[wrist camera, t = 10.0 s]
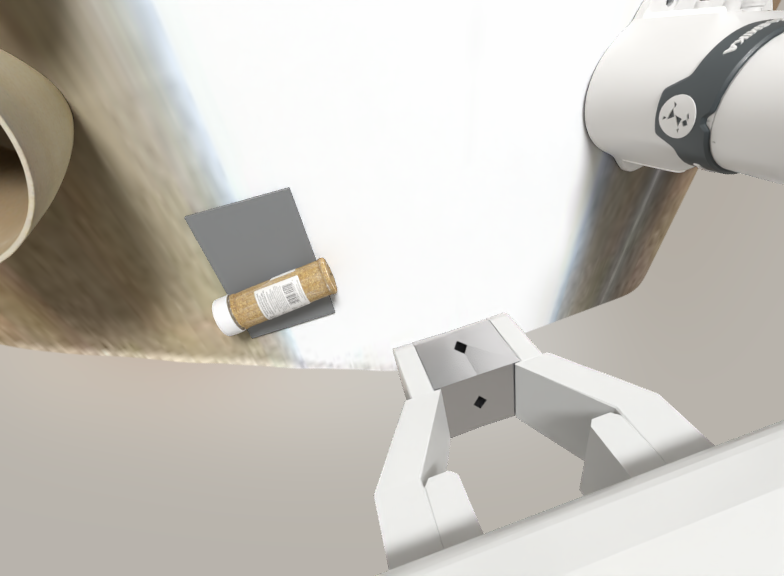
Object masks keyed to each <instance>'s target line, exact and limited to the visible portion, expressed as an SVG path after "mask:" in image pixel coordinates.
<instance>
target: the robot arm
mask: <svg viewBox="0 0 784 576" xmlns="http://www.w3.org/2000/svg"><path fill="white" fill-rule="evenodd" d="M666 1H667V0H644V1H643V3H642V4H641V6H640V8H639V10H638V12H637V13H636V15H635V17H634V19H633V20H632V22H631V23H630V24H629V25H628V26H627V28H626V29H625V30H624V31H623V32H622V33H621V34H620V35H619V36H618V37H617V38H616V39H615V40H614V41H613V42H612V44H611V45H610V46H609V48H608V49H607V50H606V52H605V53H604V55H603V56H602V58H601V60H600V61H599V63H598V65H597V67H596V69H595V71H594V74H593V76H592V78H591V81H590V84H589V88H588V91H587V96H586V102H585V122H586V127H587V131H588V134H589V136H590V138H591V140H592V141H593V143H594V144H595V145H596V146H597V147H598V148H599V149H601V150H602V151H604V152H606V153H608V154H610V155H612V156H613V157H614V158H615V160H616V162H617V164H618V165H619V167H620V168H621V169H622V170H625V171H634V170H637V169H639V168H641V167H643V166H648V167H653V168H657V169H662V170H666V171H671V172H676V173H681V172H684V171H685V170H687V169H690V168H693V167H697V168H700V169H702V170H705V171H709V172H714V173H715V172H717V173H723V174H737V173H741V174H745V175H749V176H752V177H756V178H760V179H764V180H767V181H771V182H775V183H779V184H782V185H784V11H783V10H781V11H773V3H772V0H668V2H667V4H666ZM393 354H394V357H395V361H396V365H397V369H398V372H399V376H400V380H401V383H402V386H403V390H404V393H405V396H406V401H405V402H404V405H403V408H402V411H401V414H400V418H399V420H398V424H397V427H396V430H395V433H394V436H393V439H392V442H391V445H390V448H389V451H388V454H387V457H386V460H385V463H384V466H383V470H382V472H381V475H380V479H379V482H378V485H377V488H376V491H375V494H374V498H375V503H376V508H377V513H378V518H379V523H380V527H381V533H382V537H383V543H384V547H385V553H386V558H387V563H388V568H389V570H388V571H386V572H383V573H380V574H378V575H375V576H784V420H782V421H780V422H777V423H774V424H772V425H769V426H767V427H764V428H761V429H759V430H756V431H753V432H751V433H748V434H746V435H743V436H740V437H738V438H735V439H732V440H730V441H727V442H725V443H722V444H719V445H717V446H715V445H714V444H712V443H711V442H710V441H709V440H708V439H707V438H706V437H705V436H704V435H703V434H702V433H700V432H699V431H698V430H697V429H696V428H695V427H694V426H693V425H692V424H691V423H689V422H688V421H687V420H686V419H685V418H684V417H683V416H682V415H681V414H680V413H679V412H678V411H676V410H675V409H674V408H673V407H672V406H671V405H670V404H669V403H668V402H667V401H666V400H664V399H663V398H662V397H661V396H660V395H659V394H658V393H655V392H652V391H650V390H647V389H644V388H642V387H639V386H636V385H634V384H631V383H629V382H626V381H623V380H620V379H618V378H615V377H613V376H610V375H607V374H605V373H602V372H599V371H597V370H594V369H592V368H589V367H586V366H583V365H581V364H578V363H576V362H573V361H570V360H568V359H565V358H562V357H560V356H557V355H554V354H552V353H549V352H548V353H544V354H542V353H541V351H540V350H539V349H538V348H537V347H536V346H535V344H533V342H532V341H531V340H530V339H529V338H528V336H527V335H526V334H525V333H524V332H523V331H522V329H521V328H520V327H519V326H518V325H517V324H516V323H515V321H514V320H513V319H512V318H511V317H510V316H509V314H507V313H505V312H504V313H501V314H498V315H495V316H492V317H489V318H487V319H486V320H485V319H484V320H481V321H478V322H475V323H472V324H469V325H466V326H463V327H460V328H457V329H454V330H451V331H449V332H446V333H442V334H439V335H436V336H432V337H429V338H426V339H422V340H419V341H415V342H412V343H411V344H407V345H404V346H400V347H397V348H393ZM515 415H516V418H518V419H519V420H521V421H522V422H524V423H526V424H527V425H529V426H530V427H532V428H533V429H535V430H537V431H538V432H540V433H541V434H543V435H544V436H546V437H548V438H549V439H551V440H552V441H554V442H555V443H557V444H558V445H560V446H562V447H563V448H565V449H566V450H568V451H570V452H571V453H572V454H574V455H576V456H577V457H579V458H581V459H582V460H584V466H583V472H582V478H581V483H580V491H581V493H582V494H583V497H580V498H577V499H575V500H572V501H570V502H567V503H564V504H562V505H559V506H556V507H554V508H551V509H549V510H546V511H543V512H541V513H538V514H535V515H533V516H530V517H527V518H525V519H522V520H520V521H517V522H514V523H512V524H509V525H506V526H504V527H501V528H498V529H496V530H493V531H491V532H488V533H485V534H483V532H482V529H481V527H480V525H479V522H478V520H477V518H476V515H475V513H474V510H473V508H472V506H471V503H470V501H469V499H468V496H467V494H466V492H465V489H464V487H463V485H462V482H461V480H460V477H459V475H458V474H456V473H453V472H451V471H446V469H447V463H448V457H449V449H450V443H451V439H450V438H453V437H455V436H458V435H461V434H463V433H466V432H468V431H471V430H473V429H476V428H479V427H481V426H484V425H487V424H491V423H494V422H497V421H500V420H503V419H506V418H509V417H512V416H515Z"/></svg>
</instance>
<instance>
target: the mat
mask: <svg viewBox="0 0 784 576" xmlns="http://www.w3.org/2000/svg"><path fill="white" fill-rule="evenodd" d="M185 220H186V222H187V224H188V225H189V227H190V229H191V231H192V232H193V234H194V236H195V238H196V240H197V241H198V243H199V245H200V247H201V248H202V250H203V252H204V254H205V256H206V257H207V259H208V261H209V263H210V264H211V266H212V268H213V270H214V272H215V273H216V275H217V277H218V279H219V280H220V282H221V284H222V286H223V288H224V289H225V291H226V293H227V295H228V294H229V295H231V294H235V293H238V292H240V291H242V290H245V289H247V288H250V287H252V286H255V285H257V284H260V283H262V282H265V281H267V280H270V279H271V278H273V277H275V276H278V275H280V274H283V273H285V272H288V271H290V270H293V269H296V268H300V267H302V266H304V265H307V264H309V263H312V262H314V261H316V258H315V256H314V253H313V250H312V248H311V245H310V242H309V239H308V237H307V234H306V231H305V229H304V226H303V223H302V220H301V218H300V215H299V212H298V210H297V207H296V204H295V201H294V199H293V196H292V193H291V191H290V188H289V187H288V188H285V189H281V190H278V191H274V192H270V193H267V194H263V195H260V196H256V197H253V198H249V199H245V200H242V201H238V202H235V203H231V204H227V205H224V206H220V207H217V208H213V209H210V210H206V211H202V212H199V213H195V214H192V215H188V216H185ZM332 313H335V310H334V307H333V305H332V302H331V299H330V296H329V295H328V296H326V297H324V298H321V299H318V300H316V301H314V302H312V303H310V304H308V305H305V306H303V307H300V308H298V309H295V310H293V311H290V312H288V313H285V314H283V315H280V316H278V317H275V318H273V319H270V320H267V321H264V322H262V323H259V324H257V325H254V326H252V327H249V328H248V329H247V330H248V332H249V334H250V336H251V337H252V338H255V337H258V336H261V335H265V334H268V333H271V332H274V331H277V330H281V329H284V328H287V327H290V326H293V325H297V324H300V323H303V322H306V321H309V320H313V319H316V318H319V317H322V316H325V315H329V314H332Z"/></svg>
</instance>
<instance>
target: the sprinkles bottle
mask: <svg viewBox="0 0 784 576" xmlns="http://www.w3.org/2000/svg"><path fill="white" fill-rule="evenodd" d="M336 293H337V287H336V283H335V279H334V277H333V274H332V272H331V270H330V268H329V266H328V264H327V262H326V261H325V259H323V258H319V259H318V260H317V261H314V262H312V263H309V264H307V265H304V266H302V267H300V268H296V269H293V270H290V271H288V272H285V273H283V274H280V275H278V276H275V277H273V278H271V279H270V280H267V281H265V282H262V283H260V284H257V285H255V286H252V287H250V288H247V289H245V290H242V291H240V292H238V293H235V294H231V295H229V294H228V295H225V296H223V297H221V298H218V299H216V300H215V301H214V302H213V304H212V312H213V316H214V319H215V321H216V324H217V325H218V327H219V328H220V330H221V331H222V332H223V333H224V334H225V335H227V336H233V335H236V334H238V333H241V332H243V331H245V330H246V329H248V328H249V327H252V326H254V325H257V324H259V323H262V322H264V321H267V320H270V319H273V318H275V317H278V316H280V315H283V314H285V313H288V312H290V311H293V310H295V309H298V308H300V307H303V306H305V305H308V304H310V303H312V302H314V301H316V300H318V299H321V298H324V297H326V296H328V295H331V294H336Z"/></svg>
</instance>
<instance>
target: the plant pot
mask: <svg viewBox="0 0 784 576" xmlns="http://www.w3.org/2000/svg"><path fill="white" fill-rule="evenodd" d="M73 138H74V124H73V117H72V113H71V110H70V108H69V105H68V103H67V101H66V100H65V98H64V97H63V95H62V94H61V92H60V91H59V90H58V89H57V88H56V87H55V86H54V84H53V83H52V82H50V81H49V80H48V79H47V78H46V77H45V76H43V75H42V74H41V73H39V72H38V71H37V70H35V69H34V68H32V67H31V66H29V65H28V64H26V63H24V62H23V61H21V60H19V59H18V58H16V57H14V56H13V55H11V54H9V53H7V52H5V51H4V50H2V49H0V263H2V262H3V261H5V260H6V259H7V258H9V257H10V256H11V255H12V254H13V253H14V252H15V251H16V250H17V249H18V248H19V247H20V246H21V244H22V243H23V242H24V241H25V239H26V238H27V237H28V235H29V234H30V233H31V231H32V230H33V229H34V227H35V226H36V225H37V223H38V222H39V220H40V219H41V218H42V216H43V215H44V213H45V212H46V211H47V209H48V208H49V206H50V204H51V203H52V201H53V199H54V197H55V195H56V193H57V192H58V190H59V188H60V185H61V183H62V181H63V178H64V176H65V173H66V170H67V167H68V164H69V161H70V157H71V153H72V148H73Z"/></svg>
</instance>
